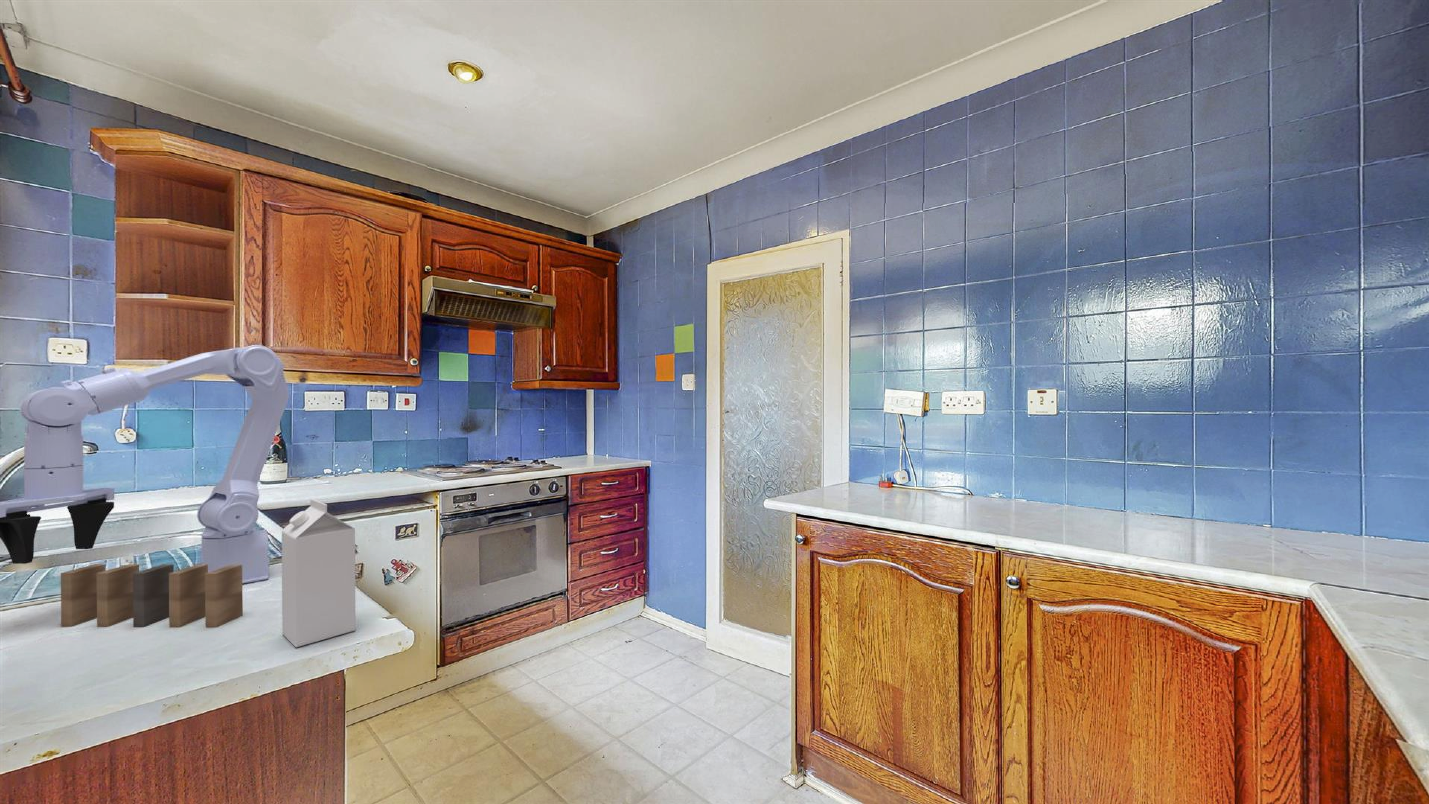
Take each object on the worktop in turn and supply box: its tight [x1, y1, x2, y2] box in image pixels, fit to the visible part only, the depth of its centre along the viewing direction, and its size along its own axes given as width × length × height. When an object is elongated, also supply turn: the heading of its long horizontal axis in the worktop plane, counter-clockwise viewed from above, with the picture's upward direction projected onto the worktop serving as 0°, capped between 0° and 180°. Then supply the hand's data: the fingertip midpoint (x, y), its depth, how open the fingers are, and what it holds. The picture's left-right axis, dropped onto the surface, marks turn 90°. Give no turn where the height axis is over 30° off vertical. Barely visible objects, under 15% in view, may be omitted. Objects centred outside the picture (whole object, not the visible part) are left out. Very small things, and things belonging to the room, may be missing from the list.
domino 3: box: [168, 563, 208, 628], centre depth 83 cm, size 4×2×8 cm, turn 179°
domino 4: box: [204, 565, 244, 629], centre depth 82 cm, size 4×2×8 cm, turn 179°
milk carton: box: [281, 498, 357, 648], centre depth 78 cm, size 7×7×19 cm
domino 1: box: [60, 563, 106, 628], centre depth 83 cm, size 4×2×8 cm, turn 179°
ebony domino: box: [132, 563, 175, 628], centre depth 83 cm, size 4×2×8 cm, turn 179°
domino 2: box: [96, 563, 140, 628], centre depth 83 cm, size 4×2×8 cm, turn 179°
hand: (54, 555), depth 83 cm, fingers open, 7 cm apart
